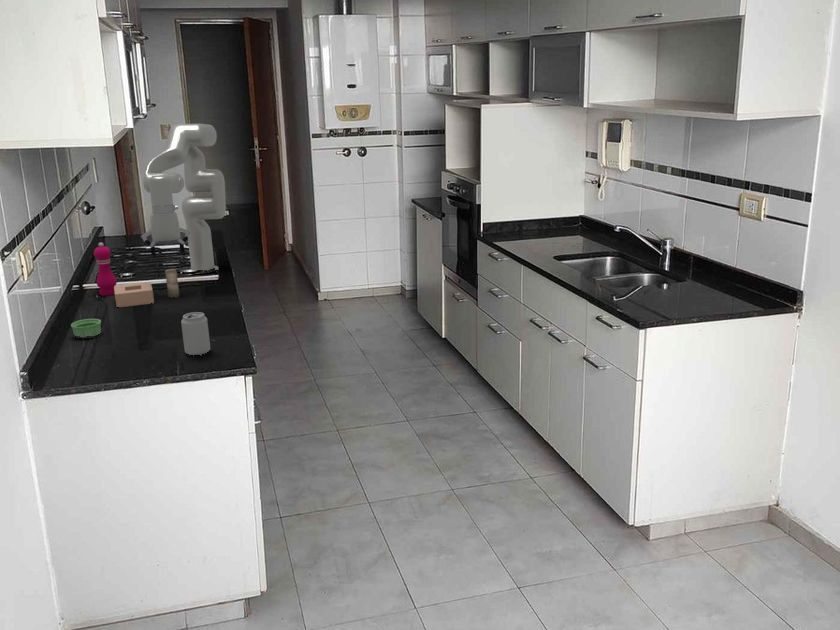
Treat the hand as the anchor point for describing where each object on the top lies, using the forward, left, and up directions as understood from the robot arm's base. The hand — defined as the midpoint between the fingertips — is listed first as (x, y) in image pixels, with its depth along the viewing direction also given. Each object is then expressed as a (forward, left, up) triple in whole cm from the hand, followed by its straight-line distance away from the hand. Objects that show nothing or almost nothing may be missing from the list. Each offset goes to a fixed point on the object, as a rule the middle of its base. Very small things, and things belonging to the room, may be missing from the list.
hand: (168, 255), depth 297 cm
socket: (-1, -14, -16) cm, 21 cm away
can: (+68, +1, -16) cm, 70 cm away
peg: (-1, 0, -16) cm, 16 cm away
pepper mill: (-17, -23, -16) cm, 32 cm away
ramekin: (+35, -30, -16) cm, 49 cm away
